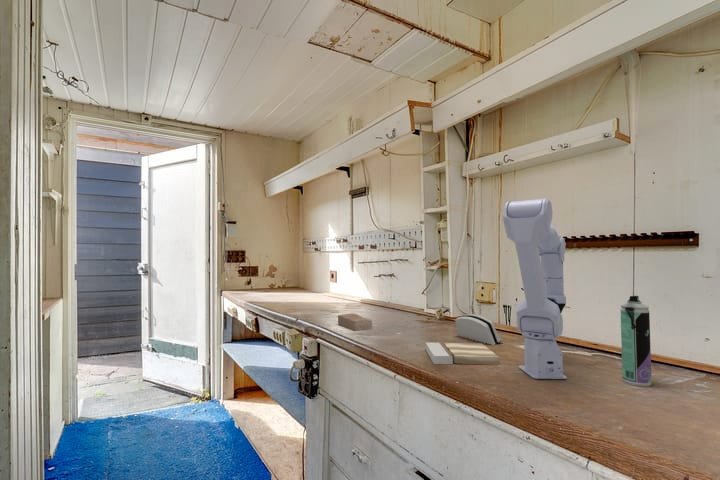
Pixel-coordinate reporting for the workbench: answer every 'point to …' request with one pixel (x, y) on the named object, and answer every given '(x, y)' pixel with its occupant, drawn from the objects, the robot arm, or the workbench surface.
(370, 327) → the brick
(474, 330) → the grey curved block
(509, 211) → the robot arm
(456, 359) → the brass metal plate
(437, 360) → the board
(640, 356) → the spray can
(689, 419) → the workbench surface
